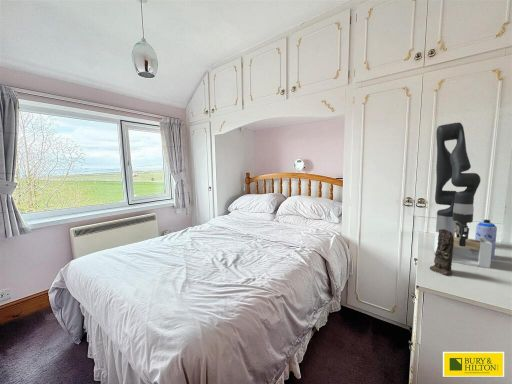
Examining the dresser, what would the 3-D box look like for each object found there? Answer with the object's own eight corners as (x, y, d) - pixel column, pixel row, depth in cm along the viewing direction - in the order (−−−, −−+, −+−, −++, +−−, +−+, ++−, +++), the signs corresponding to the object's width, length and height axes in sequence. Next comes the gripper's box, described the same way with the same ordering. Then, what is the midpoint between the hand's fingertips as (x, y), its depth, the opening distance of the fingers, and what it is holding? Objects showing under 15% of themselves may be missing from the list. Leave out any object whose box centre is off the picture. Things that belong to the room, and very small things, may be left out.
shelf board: (442, 241, 119) (442, 235, 118) (478, 247, 110) (479, 240, 110) (442, 244, 114) (443, 238, 114) (480, 250, 106) (481, 243, 105)
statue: (429, 269, 103) (431, 228, 101) (438, 266, 105) (441, 226, 103) (445, 276, 96) (449, 232, 94) (455, 273, 99) (458, 230, 97)
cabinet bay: (433, 252, 123) (435, 231, 122) (481, 259, 113) (483, 236, 112) (437, 260, 113) (439, 237, 112) (489, 268, 103) (492, 243, 102)
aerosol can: (499, 259, 112) (502, 221, 110) (481, 258, 113) (484, 221, 111) (486, 254, 119) (489, 218, 117) (469, 253, 121) (472, 218, 119)
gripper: (450, 209, 118) (447, 239, 120) (456, 214, 106) (454, 247, 108) (468, 210, 114) (466, 241, 116) (477, 215, 102) (475, 250, 104)
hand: (460, 244), depth 112 cm, fingers closed on shelf board, 5 cm apart
